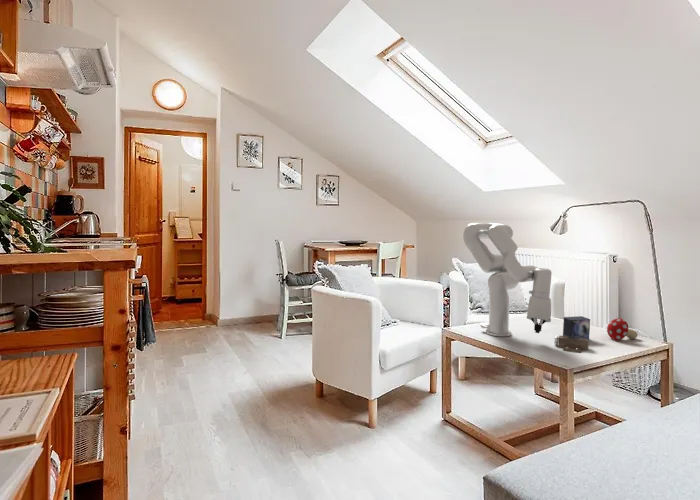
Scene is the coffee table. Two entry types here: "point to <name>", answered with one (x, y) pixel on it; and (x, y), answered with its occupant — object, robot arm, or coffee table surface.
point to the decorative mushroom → (620, 330)
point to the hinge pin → (556, 340)
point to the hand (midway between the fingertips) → (537, 332)
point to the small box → (576, 327)
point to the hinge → (573, 343)
